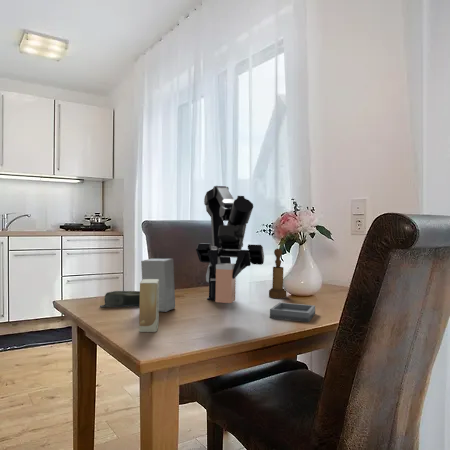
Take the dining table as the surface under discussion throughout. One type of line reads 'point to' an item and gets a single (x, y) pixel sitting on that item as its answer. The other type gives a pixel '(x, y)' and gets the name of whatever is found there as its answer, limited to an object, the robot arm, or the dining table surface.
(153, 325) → the skincare box
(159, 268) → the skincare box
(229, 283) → the grey-topped peach block
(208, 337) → the dining table surface
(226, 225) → the robot arm
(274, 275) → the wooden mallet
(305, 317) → the tray
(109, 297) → the black stapler
